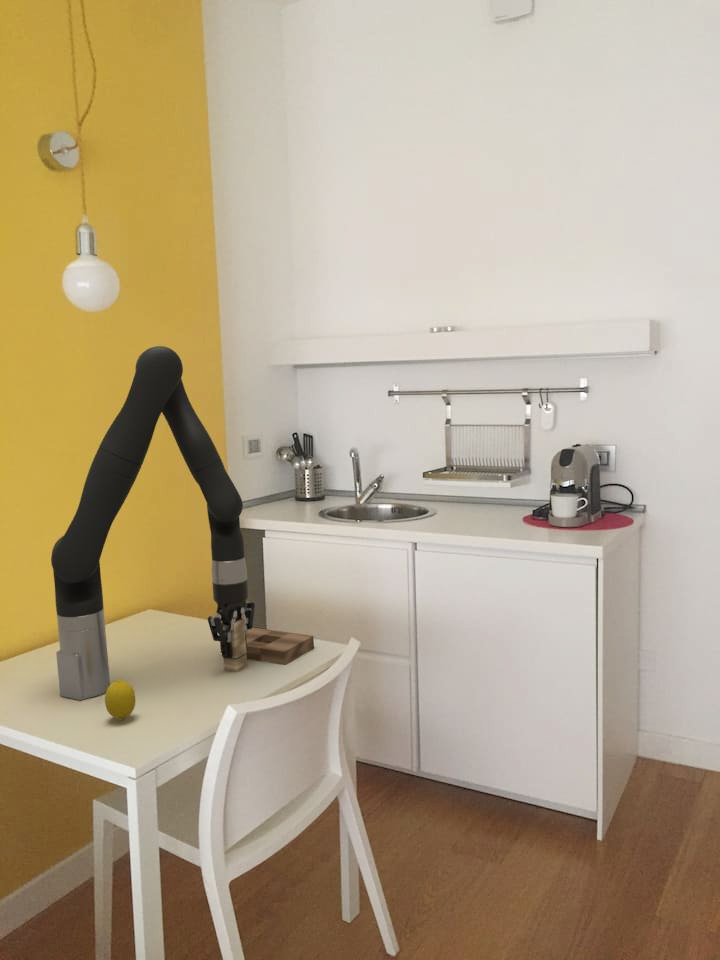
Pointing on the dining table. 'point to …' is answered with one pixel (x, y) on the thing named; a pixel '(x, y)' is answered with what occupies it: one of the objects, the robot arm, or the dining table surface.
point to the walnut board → (276, 645)
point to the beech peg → (237, 648)
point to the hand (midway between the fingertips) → (234, 653)
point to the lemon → (120, 699)
